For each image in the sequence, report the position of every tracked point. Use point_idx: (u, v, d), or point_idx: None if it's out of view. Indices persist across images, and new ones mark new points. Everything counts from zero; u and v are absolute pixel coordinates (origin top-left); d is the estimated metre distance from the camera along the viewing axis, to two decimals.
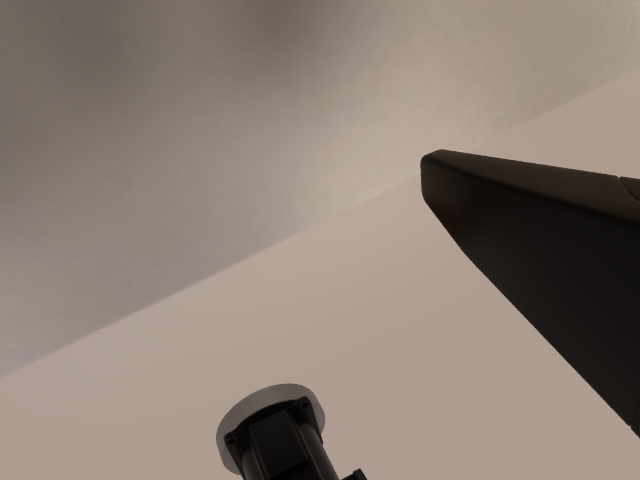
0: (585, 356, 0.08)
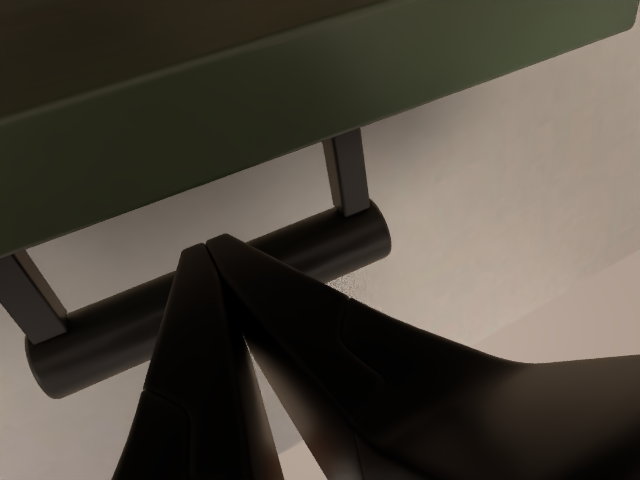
0: None
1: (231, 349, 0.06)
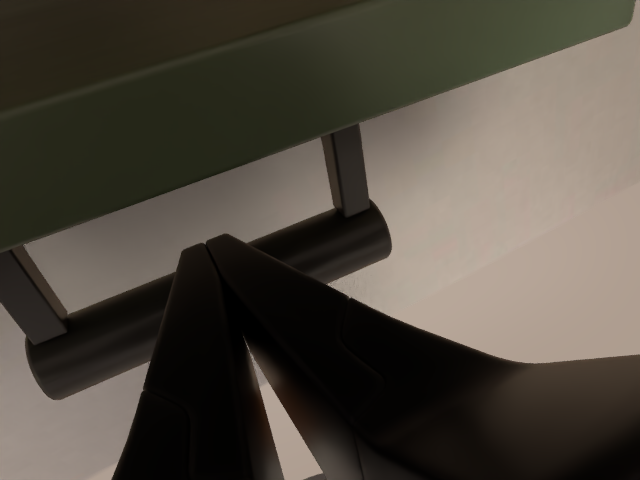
0: None
1: (231, 349, 0.06)
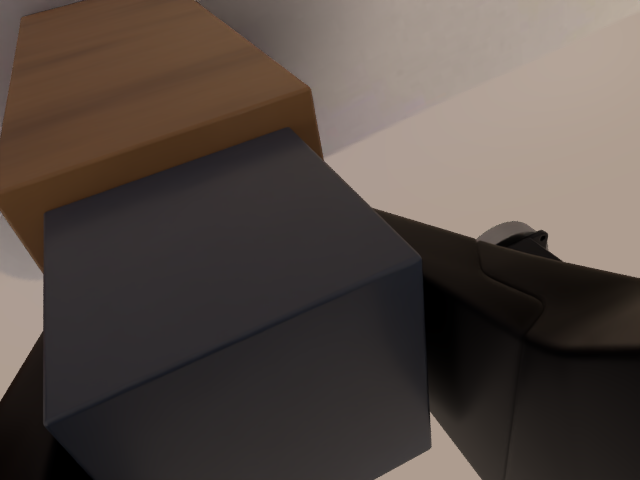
0: (455, 427, 0.08)
1: None
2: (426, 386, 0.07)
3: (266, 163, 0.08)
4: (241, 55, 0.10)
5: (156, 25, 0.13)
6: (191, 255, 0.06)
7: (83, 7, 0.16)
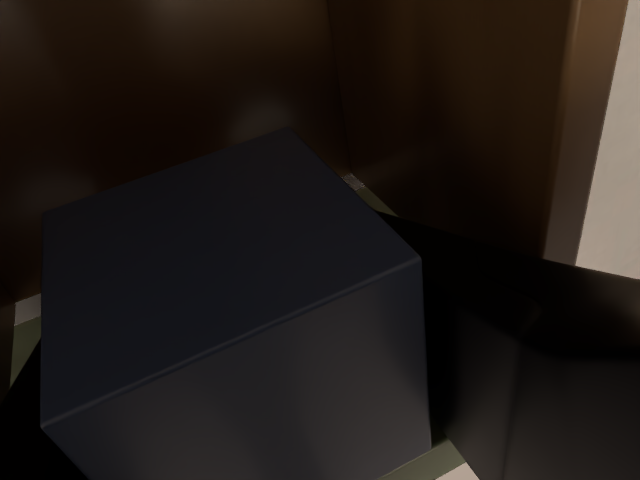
0: (453, 428, 0.08)
1: None
2: (426, 387, 0.07)
3: (265, 163, 0.08)
4: None
5: None
6: (189, 255, 0.06)
7: None
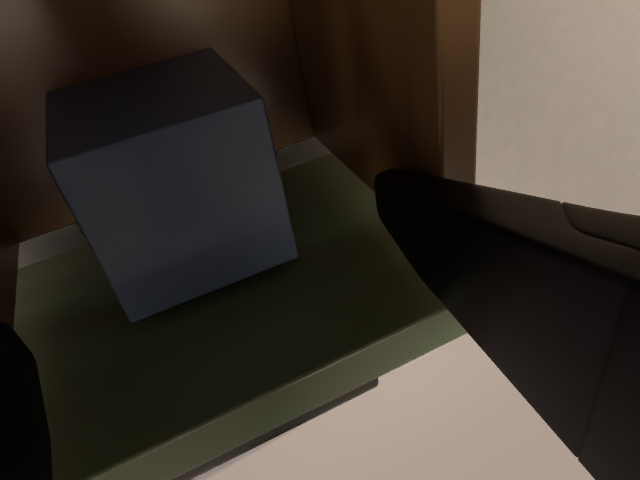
0: (532, 385, 0.08)
1: None
2: (284, 199, 0.11)
3: (191, 65, 0.12)
4: None
5: None
6: (135, 104, 0.10)
7: None
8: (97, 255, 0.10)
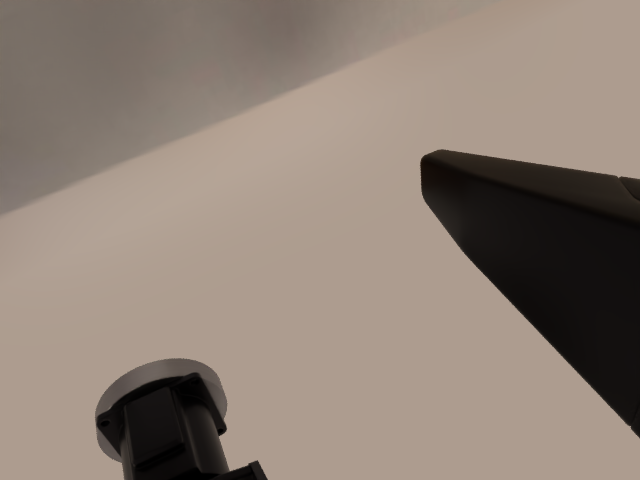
0: (585, 356, 0.08)
1: None
2: None
3: None
4: None
5: None
6: None
7: None
8: None
